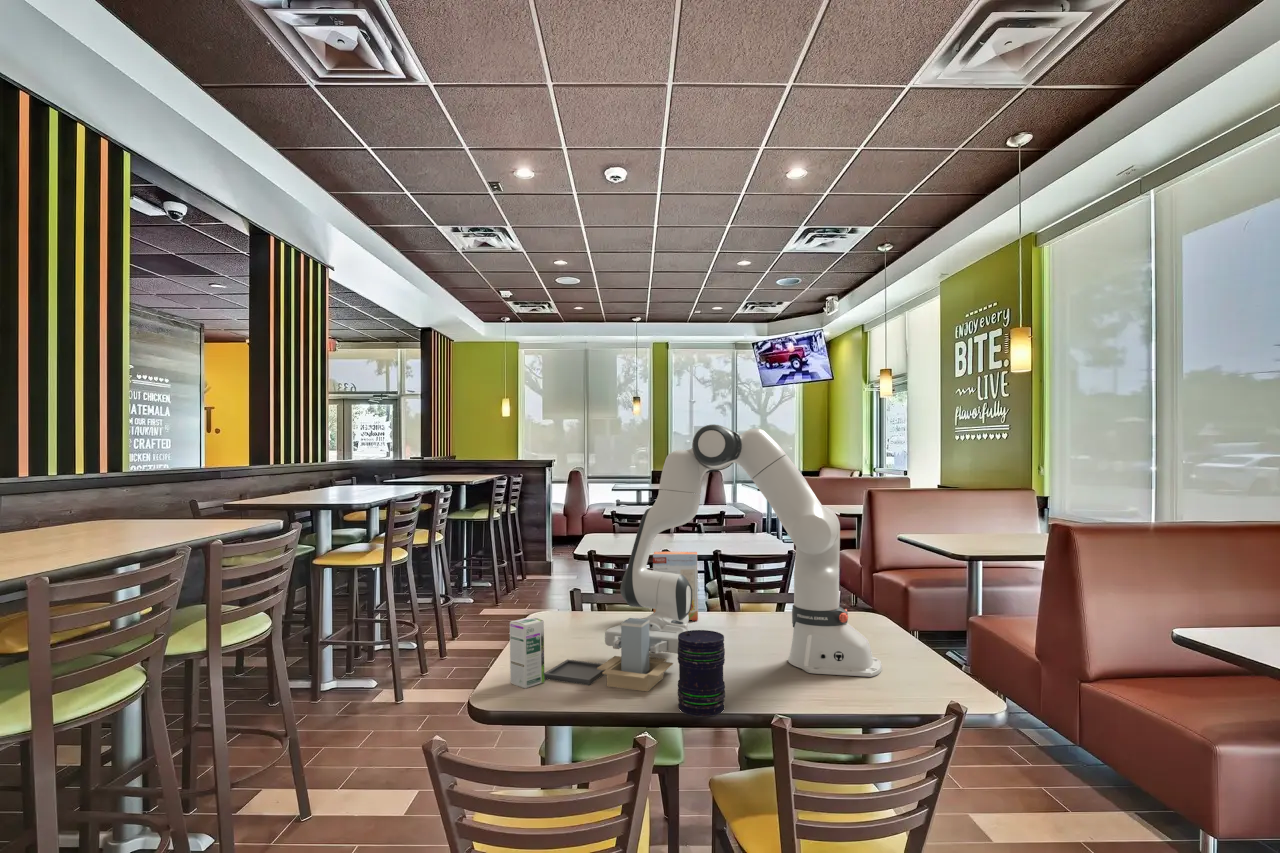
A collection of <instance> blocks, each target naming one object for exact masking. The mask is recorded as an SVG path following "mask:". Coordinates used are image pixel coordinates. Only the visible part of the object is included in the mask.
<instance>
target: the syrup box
mask: <svg viewBox="0 0 1280 853" xmlns="http://www.w3.org/2000/svg"><path fill="white" fill-rule="evenodd" d="M544 623H545V622H544V620H543V619H540V618H537V617H532V616H531V617H530V616H527V617H525V618H521V619H520V618H519V619H516V620H511V621H509V655H510V656H509V665H510V666H509V668H510V669H509V670H510V671H509V672H510V675H509V676H510V677H509V678H510V680H509V681H510V683H511V684H512V685H514V686H516V687H519V688H522V689H528V688H530V687H534V686H537V685H540V684H544V683H545V680H546V679H545V678H544V673H545V624H544Z"/></svg>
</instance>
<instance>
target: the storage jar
mask: <svg viewBox="0 0 1280 853" xmlns="http://www.w3.org/2000/svg"><path fill="white" fill-rule="evenodd" d="M678 641H679V642H678V654H677V663H678V664H679V665H678V667H679V668H678V674H679V675H678V676H679V677H678V681H677V697H678V698H677V700H678V704H677V706H678V707H677V708H679V709H680V710H681V711H682V712H683V714H685V715H687V716H690V717H691V716H692V717H698V718H699V717H700V718H703V717H705V718H706V717H707V718H708V717H714V716H719V715H720V713H721V712H722V711H723V710H724V711H725V709H724V708H725V698H726V691H725V690H726V689H725V688H726V686H725V685H726V684H725V681H724V665H725V661H726V659H725V658H726V657H725V651H726V650H725V642H724V641H725V635H724V634H723V633H721V632H718V631H714V630H707V629H706V630H704V629H692V630H688V631H685V632H682V633H680V634H679V635H678ZM679 709H678V710H679ZM680 710H679V711H680ZM681 711H680V712H681ZM724 711H723V712H724ZM682 712H681V713H682ZM723 712H722V713H723ZM722 713H721V714H722Z"/></svg>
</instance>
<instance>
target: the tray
mask: <svg viewBox="0 0 1280 853" xmlns="http://www.w3.org/2000/svg"><path fill="white" fill-rule="evenodd" d="M602 664H603V663H599V662H593V661H583V660H576V659H575V660H574V659H568V658H567V659H566V660H564V661H562V662H561V663H559V664H557V665H556V666H554V667H552V668H550V669H549V670H547V671H546V672H545V671H544V678H545V680H548V679H550V680H549V681H555V682H556V681H557V682H564V683H569V684H570V683H572V684H577V685H584V686H585V685H586V686H590V685H592V684H593V683H594V682H596V681H597V680H599V679H600V678H602V677H603V676H604V675H605V674H602V672H604V671H605V670H599V669H597V668H598V667H599V666H601V665H602ZM591 683H592V684H591Z"/></svg>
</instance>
